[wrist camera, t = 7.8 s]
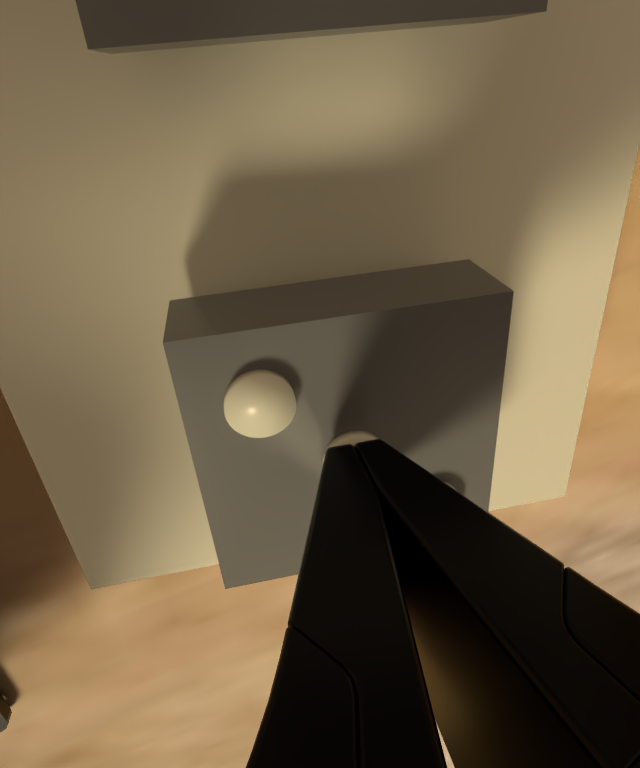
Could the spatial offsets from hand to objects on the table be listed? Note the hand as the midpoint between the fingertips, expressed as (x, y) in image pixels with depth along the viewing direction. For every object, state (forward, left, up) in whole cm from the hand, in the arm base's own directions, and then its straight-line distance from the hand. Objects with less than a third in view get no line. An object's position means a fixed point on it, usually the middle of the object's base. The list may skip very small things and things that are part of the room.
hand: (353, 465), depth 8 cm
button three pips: (0, 0, -2) cm, 2 cm away
